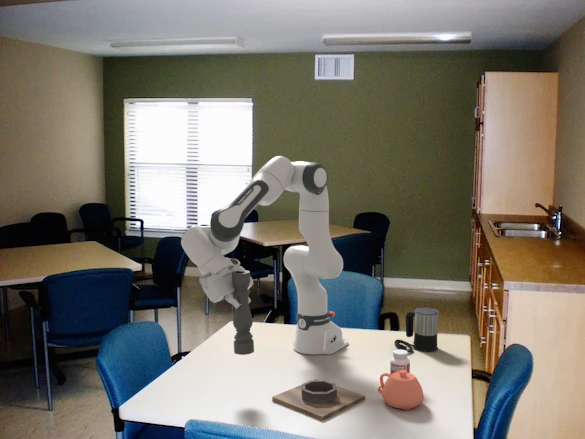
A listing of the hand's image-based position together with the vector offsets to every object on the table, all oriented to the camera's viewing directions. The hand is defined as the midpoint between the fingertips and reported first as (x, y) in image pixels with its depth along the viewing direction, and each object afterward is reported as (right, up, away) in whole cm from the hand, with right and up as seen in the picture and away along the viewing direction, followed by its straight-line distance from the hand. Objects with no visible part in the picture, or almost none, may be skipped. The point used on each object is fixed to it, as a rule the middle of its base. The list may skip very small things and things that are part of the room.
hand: (244, 304), depth 190 cm
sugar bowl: (+47, -29, -4) cm, 56 cm away
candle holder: (0, -15, +2) cm, 15 cm away
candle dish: (+23, -29, -2) cm, 37 cm away
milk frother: (+62, -23, +44) cm, 79 cm away
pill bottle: (+50, -27, +10) cm, 57 cm away
